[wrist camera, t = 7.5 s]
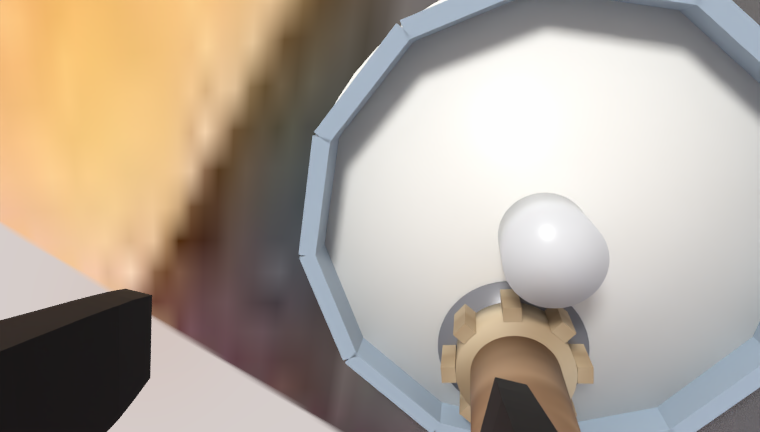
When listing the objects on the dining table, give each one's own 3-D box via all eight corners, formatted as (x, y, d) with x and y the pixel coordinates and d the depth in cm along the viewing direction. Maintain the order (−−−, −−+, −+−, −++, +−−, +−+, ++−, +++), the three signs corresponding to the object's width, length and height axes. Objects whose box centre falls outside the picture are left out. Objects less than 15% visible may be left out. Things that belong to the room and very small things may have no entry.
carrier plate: (931, 209, 16) (1057, 246, 12) (543, 494, 21) (557, 573, 18) (533, -154, 15) (551, -220, 11) (234, 240, 20) (188, 273, 17)
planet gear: (614, 351, 17) (684, 485, 12) (515, 433, 19) (535, 585, 13) (507, 262, 17) (526, 354, 12) (415, 352, 19) (393, 473, 13)
